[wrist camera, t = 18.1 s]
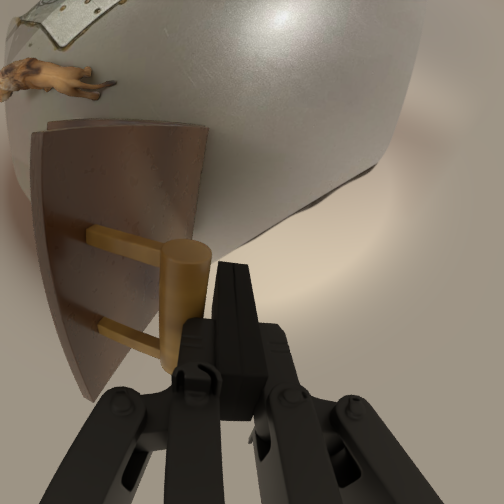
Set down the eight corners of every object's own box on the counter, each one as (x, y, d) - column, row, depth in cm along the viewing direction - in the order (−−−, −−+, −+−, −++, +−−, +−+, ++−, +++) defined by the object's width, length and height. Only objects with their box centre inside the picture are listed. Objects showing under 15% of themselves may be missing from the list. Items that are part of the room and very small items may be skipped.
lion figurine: (24, 101, 21) (-17, 104, 13) (32, 64, 19) (-7, 59, 11) (112, 102, 25) (80, 98, 17) (123, 61, 23) (96, 44, 15)
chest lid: (83, 397, 11) (180, 441, 11) (30, 132, 6) (202, 143, 5) (181, 268, 26) (240, 285, 26) (200, 126, 20) (272, 139, 20)
